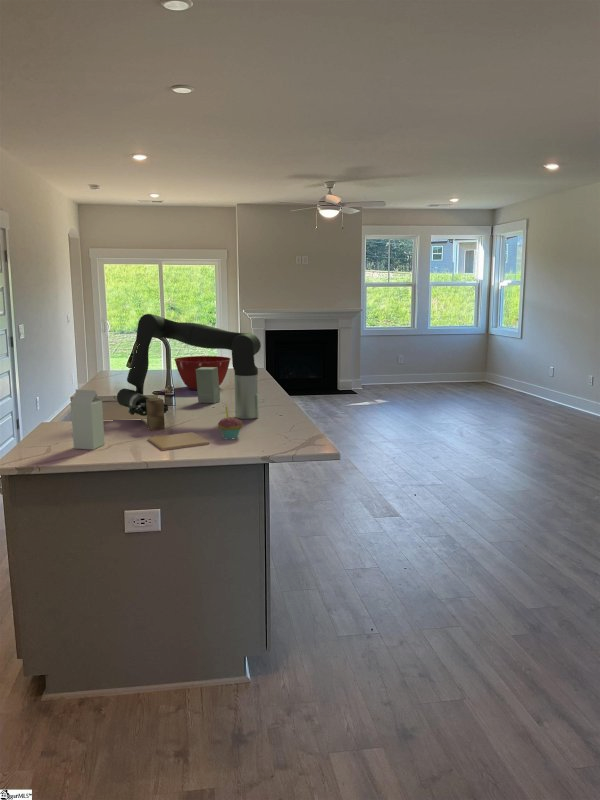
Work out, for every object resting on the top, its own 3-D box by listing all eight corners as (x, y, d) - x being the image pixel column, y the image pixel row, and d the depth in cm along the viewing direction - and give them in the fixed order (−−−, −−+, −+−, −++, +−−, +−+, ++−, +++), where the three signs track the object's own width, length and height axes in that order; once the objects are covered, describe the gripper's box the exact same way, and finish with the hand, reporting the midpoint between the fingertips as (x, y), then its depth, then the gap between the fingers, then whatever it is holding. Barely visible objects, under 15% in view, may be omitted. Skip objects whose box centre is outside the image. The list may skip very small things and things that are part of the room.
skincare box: (220, 401, 282) (219, 366, 279) (213, 404, 275) (212, 368, 272) (203, 400, 285) (202, 366, 282) (196, 403, 278) (195, 368, 275)
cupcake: (232, 441, 209) (231, 407, 207) (213, 438, 214) (212, 404, 211) (247, 436, 216) (247, 402, 214) (228, 433, 221) (227, 400, 219)
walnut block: (160, 426, 232) (159, 397, 230) (164, 429, 228) (163, 399, 226) (147, 428, 230) (145, 398, 228) (151, 430, 225) (150, 401, 223)
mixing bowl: (203, 382, 338) (202, 354, 335) (242, 387, 321) (242, 357, 318) (163, 389, 315) (162, 359, 312) (204, 394, 299) (203, 363, 296)
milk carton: (93, 450, 199) (89, 391, 196) (73, 449, 200) (69, 391, 197) (104, 444, 206) (101, 388, 202) (85, 443, 207) (81, 387, 204)
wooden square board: (192, 434, 220) (192, 432, 220) (209, 444, 206) (209, 441, 206) (147, 439, 212) (147, 437, 212) (162, 450, 198) (162, 448, 198)
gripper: (122, 396, 239) (134, 403, 225) (158, 393, 246) (171, 399, 232) (123, 415, 240) (135, 423, 227) (159, 412, 247) (172, 419, 234)
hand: (153, 411), depth 229 cm, fingers open, 8 cm apart
